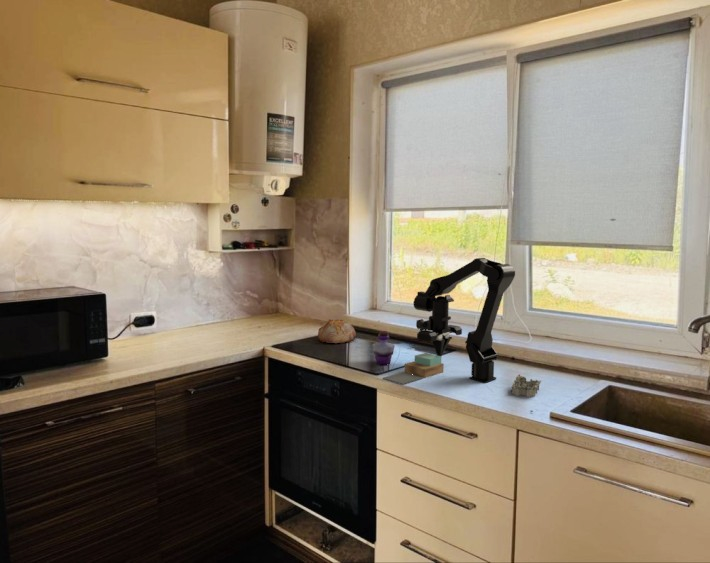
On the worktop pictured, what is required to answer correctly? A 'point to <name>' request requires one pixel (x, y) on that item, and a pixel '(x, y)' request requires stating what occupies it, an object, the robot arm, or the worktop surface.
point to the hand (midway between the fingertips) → (439, 356)
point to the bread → (336, 332)
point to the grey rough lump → (525, 386)
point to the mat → (402, 378)
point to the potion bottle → (383, 349)
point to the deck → (423, 369)
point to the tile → (427, 359)
